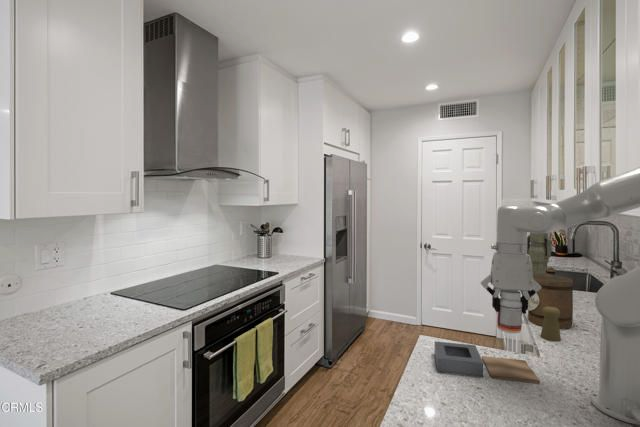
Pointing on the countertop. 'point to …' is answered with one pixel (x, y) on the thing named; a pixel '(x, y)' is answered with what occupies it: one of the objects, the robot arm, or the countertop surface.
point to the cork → (551, 324)
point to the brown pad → (509, 369)
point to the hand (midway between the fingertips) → (509, 310)
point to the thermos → (539, 251)
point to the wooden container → (552, 298)
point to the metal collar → (458, 359)
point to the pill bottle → (510, 311)
